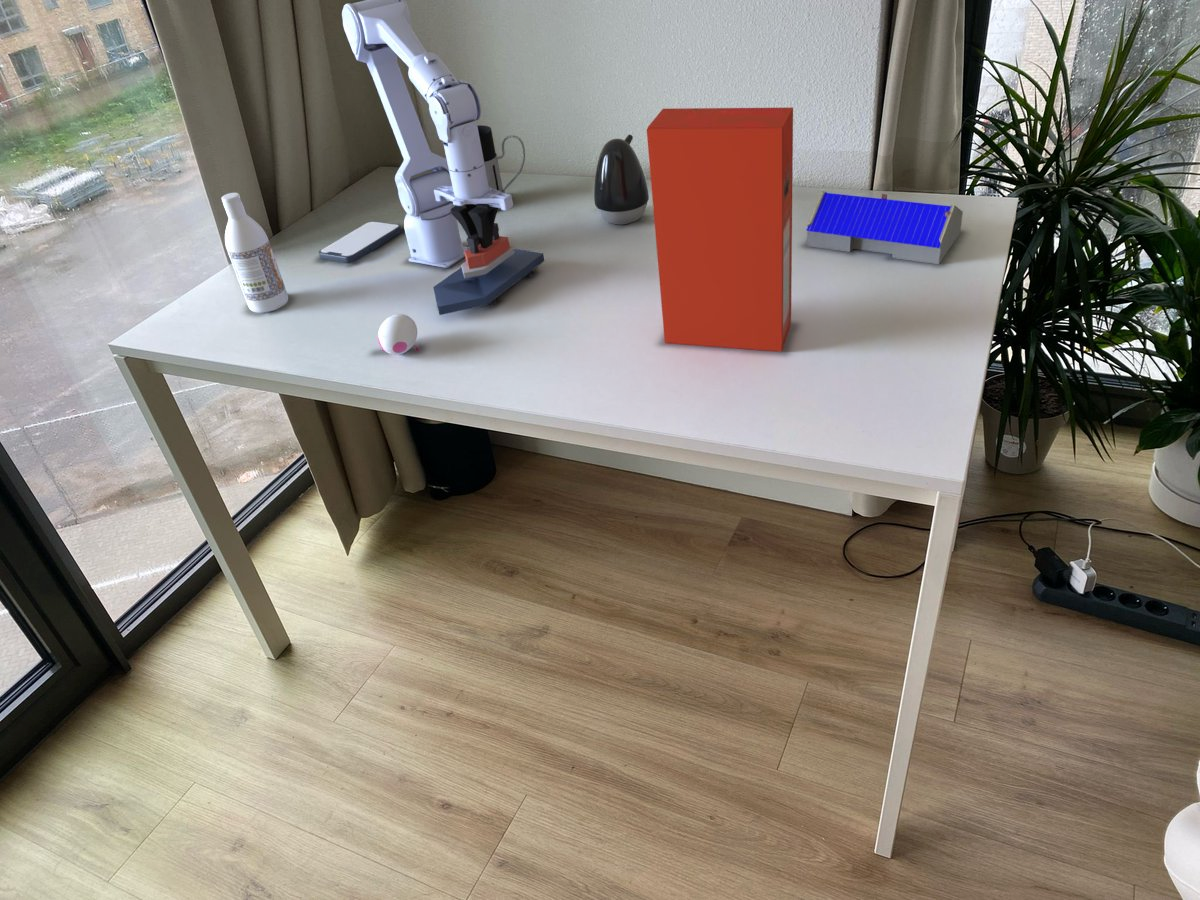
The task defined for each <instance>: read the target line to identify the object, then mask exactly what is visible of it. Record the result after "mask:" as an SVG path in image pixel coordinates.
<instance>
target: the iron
mask: <svg viewBox="0 0 1200 900" xmlns="http://www.w3.org/2000/svg"><path fill="white" fill-rule="evenodd" d="M499 231H500V230H499V224H498V223H497V222H494V228H493V242H492V245H490V246H489V247H487V248H486V249H484V248H482V246H481V244H480V240H479V236H478V232H476V233H474V234H473V235H471V236H470V237H468V236H467V237H466V244H467V247H470V248H469V249H468V250H466V251H465V252H464V253H465V257H464V258H465V261H464V262H463V263H461V264H460V268H461V267H462V271H463V274H464V278H469V277H474V276H479V275H484V274H487V273H488V272H489V271H491V270H492V269H493V268H495V267H496V266H498V265H499V264H500V263H502V262H503V261H504V260H506V259H507V258H509V257H510V256H511V255H513V254H514V253H515V251H514V249H515V247H511V245H510V239H509V237H508V236H502V235H500V233H499Z"/></svg>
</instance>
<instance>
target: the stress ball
mask: <svg viewBox="0 0 1200 900" xmlns="http://www.w3.org/2000/svg"><path fill="white" fill-rule="evenodd" d="M417 338H418V327H417V324H416V322H415V320H414V319H413V318H412V317H410V316H409V315H407V314H403V313H396V314H393V315H390V316H388V317H387V318H386V319H385V320H384V321H383V322H382V323H381V325H380V327H379V328H378V332H377V340H378V344H379V346H380V348H381V349H382V350H381V352H385V353H387V354H389V355H393V356H398V355H402V354H404V353H406V352H407V351H409V350H410V349H412V348H413V346H414V348H415V350H416V351H417V352H418V351H419V349H420V347H418V346H416V345H415V343H416V341H417Z"/></svg>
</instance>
